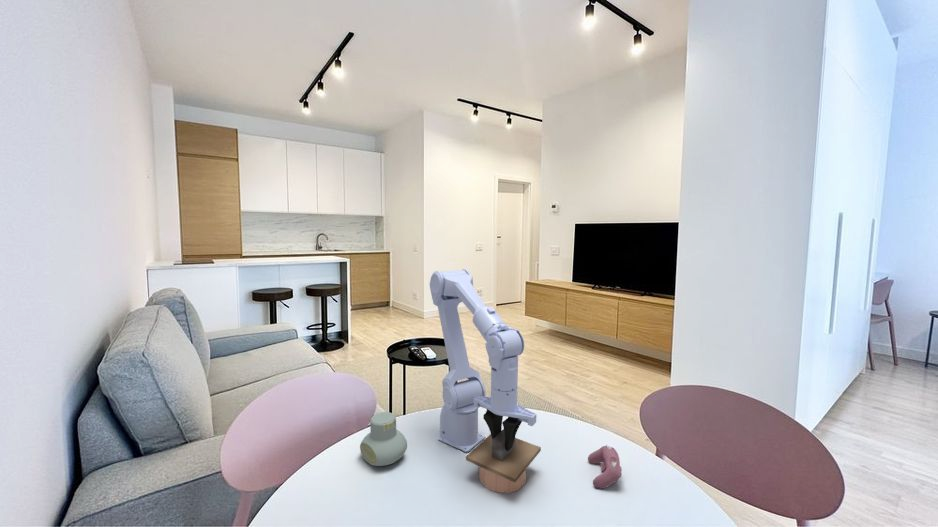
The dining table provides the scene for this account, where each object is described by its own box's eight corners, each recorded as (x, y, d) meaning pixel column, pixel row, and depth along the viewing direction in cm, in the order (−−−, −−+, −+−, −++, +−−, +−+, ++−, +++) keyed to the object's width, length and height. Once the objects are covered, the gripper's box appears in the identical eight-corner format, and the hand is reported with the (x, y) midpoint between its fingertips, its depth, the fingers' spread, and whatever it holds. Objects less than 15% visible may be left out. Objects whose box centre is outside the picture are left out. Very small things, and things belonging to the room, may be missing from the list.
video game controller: (611, 498, 76) (628, 472, 75) (591, 486, 77) (608, 460, 76) (603, 468, 86) (618, 444, 85) (585, 458, 87) (600, 434, 85)
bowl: (470, 479, 80) (471, 462, 79) (494, 456, 88) (495, 440, 87) (511, 499, 74) (511, 480, 73) (533, 472, 82) (533, 455, 82)
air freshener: (356, 455, 88) (355, 415, 87) (385, 441, 94) (385, 403, 93) (381, 477, 80) (381, 433, 79) (412, 460, 86) (411, 419, 85)
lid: (465, 460, 79) (465, 439, 79) (494, 433, 89) (494, 414, 88) (515, 482, 72) (515, 460, 72) (540, 450, 82) (540, 430, 82)
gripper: (543, 388, 78) (541, 448, 79) (485, 372, 86) (485, 427, 88) (528, 400, 72) (526, 465, 73) (468, 382, 81) (467, 441, 82)
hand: (503, 445), depth 80 cm, fingers closed on lid, 2 cm apart
